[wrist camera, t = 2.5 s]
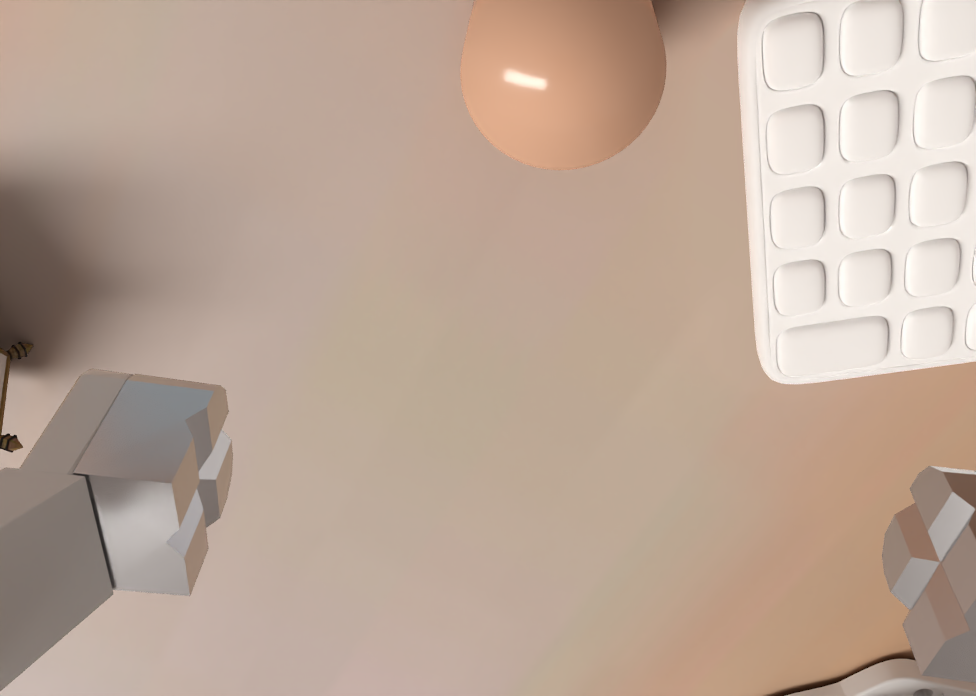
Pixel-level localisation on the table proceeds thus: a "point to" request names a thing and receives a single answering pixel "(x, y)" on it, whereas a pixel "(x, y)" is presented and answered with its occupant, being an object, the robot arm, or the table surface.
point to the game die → (6, 442)
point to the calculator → (860, 184)
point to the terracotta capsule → (562, 77)
